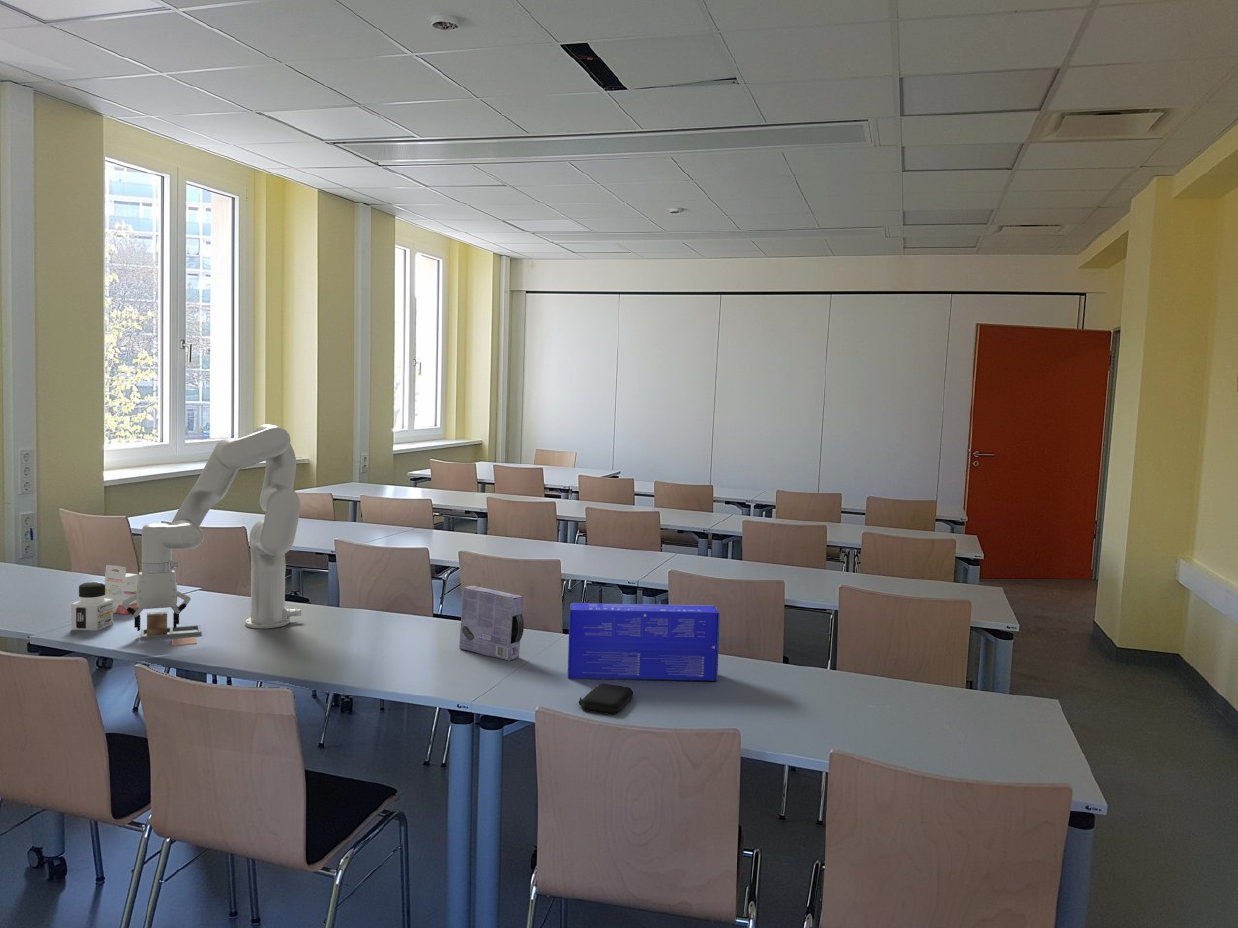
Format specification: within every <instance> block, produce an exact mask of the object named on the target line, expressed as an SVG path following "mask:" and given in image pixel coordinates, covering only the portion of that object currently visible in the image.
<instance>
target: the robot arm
mask: <svg viewBox="0 0 1238 928" xmlns="http://www.w3.org/2000/svg"><path fill="white" fill-rule="evenodd" d="M291 442H292V441H291V436H290V433H289V432H288V431H287V430H286V429H285V428H283V427H282V426H279V425H275V424H269V423H268V424H267V423H266V424H265V423H263V424H261V425H259V426H257V427H256V428H255V429H254V430H253V433H252V434H249V435H245V436H243V437H240V438H236V439H235V438H224V439H221V440H220V441H219V442H217V443H216V445H215V447H214V448H213V450H212V452H211V454H210V455H209V458H208V460H207V462H206V463H205V466H204V467H203V469H202V471H201V473H200V475H199V476H198V479H197V480H196V482H195V484H194V485H193V486H192V487H191V490H190V491H189V493H188V494H187V495H186V497H185V498H184V499H183V501H182V503H181V504H180V506H179V508H178V509H177V512H176V513H175V514H174V517H173V519H172V521H171V523H170V524H169V523H164V522H160V523H159V522H154V523H152V522H151V523H147V524H145V525H143V526H142V528H141V571H140V572H138V580H137V592H136V594H134V595H133V596H131V597H129V598H128V599H126V600H124V601H123V602H122V604H123V606H124V607H125V608H126V610H127V611H128V612H129V614H130V615H131V616H132V617H134V619H133V620H134V621H133V622H134V628H136V629H137V632H141V615H140V614H141V613H142V611H143V610H149V609H150V610H153V609H164V608H165V609H166V608H170V609H172V611H174V612H173V613H172V614H173V615H172V616H173V621H172V624H173V626H172V627H174V628H176V627H177V625H180V614H181V612H182V611H183V610H185V608H187V606H188V604H189V603H190V601H191V597H190V596H189V595H187V594H185V593H183V592H180V591H178V583H177V581H178V580H177V575H176V572H175V570H174V569H175V568H178V567H179V564H178V562H176V561H175V562H174V561H173V550H187V551H188V550H194V549H196V548H198V547H199V546H200V545H201V544H202V543H203V541H204V539H205V537H204V535H205V534H204V531H203V530H202V528H201V525H202V523H203V521H204V519H205V518H206V516H207V514H208V513H209V512H210V510H211V509H212V508H213V507H214V506H215V505H216V504H217V503H219V502H220V501H221V500H222V499H224V498H225V496H226V495H227V493H228V491H229V489H230V488H231V485H232V483H233V481H234V480H235V478H236V475H237V474H238V472H239V470H242V469H246V468H249V467H251V466H255V465H257V464H260V463H263V462H265V471H264V477H263V481H262V482H263V483H262V488H261V492H260V496H259V506H260V508H261V510H262V511H263V512H265V513H264V518H263V519H260V520H258V521H257V522H256V523H254V525H253V526H252V528H251V530H250V532H249V549H250V562H251V563H250V566H251V567H250V570H251V572H250V576H251V577H250V617H248V618H247V619H246V620H244V625H245V626H246V627H248V628H252V629H275V628H276V629H277V628H280V627H285V626H287V625H289V624H290V623H291V617H301V616H302V609H296V608H292V609H291V608H290V609H289V608H287V607H286V604H285V603H286V553H287V554H288V552H289V551H290V550H291V549H292V547H293V545H294V542H295V539H296V533H297V529H298V524H299V518H300V514H301V499H300V495H299V494H298V492H296V491H295V489H294V485H295V481H296V480H295V479H296V473H297V472H296V471H297V457H296V454H295V451H294V448H293V446H292V443H291ZM178 598H179V599H182V600H183V602H182V603H181V604H179V605H177V603H178ZM134 600H136V603H137V608H136V610H135V609H133V608H132V607H131V606H130V604H129V603H131V602H133V601H134Z"/></svg>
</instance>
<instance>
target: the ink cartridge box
mask: <svg viewBox="0 0 1238 928" xmlns="http://www.w3.org/2000/svg"><path fill="white" fill-rule="evenodd" d="M113 570H117V571H113ZM138 575H139V573H138V574H137V573H127V567H126V566H119V565H111V564H110V565H109V564H106V565H105V575H104V584H105V598H104V599H113V614H120V615H129V614H130V613H129V612H128V611H127V610H126V608H125V607H124V606H123V604H122V602H123V601H124V600H126V599H128V598H129V597H131V596H133V595H134V594H136V592H137V580H138ZM129 604H130V606H131V607H132V608H133V609H135V610H136V608H137V603H136V600H134V601H133V602H131V603H129Z"/></svg>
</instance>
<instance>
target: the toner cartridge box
mask: <svg viewBox="0 0 1238 928" xmlns="http://www.w3.org/2000/svg"><path fill="white" fill-rule="evenodd" d="M568 613H569V616H568V617H569V618H568V649H567V650H568V652H567V653H568V654H567V678H568V679H569V680H617V681H618V680H622V681H623V680H624V681H625V680H626V681H712V682H717V681H718V675H719V673H718V671H719V649H720V648H719V647H720V628H721V627H720V625H721V624H720V623H721V612H720V611H719V610H718V608H717V606H715V605H704V604H702V605H699V604H696V605H695V604H653V603H651V604H648V603H647V604H643V603H642V604H641V603H589V602H587V603H586V602H583V603H581V602H571V603H570V605H569V612H568Z"/></svg>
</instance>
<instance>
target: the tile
mask: <svg viewBox="0 0 1238 928" xmlns="http://www.w3.org/2000/svg"><path fill="white" fill-rule="evenodd" d="M171 645H172V647H175V646H176V647H177V646H178V647H179V646H189V645H190V646H191V645H198V641H197V636H190V637H178V638H171Z"/></svg>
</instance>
